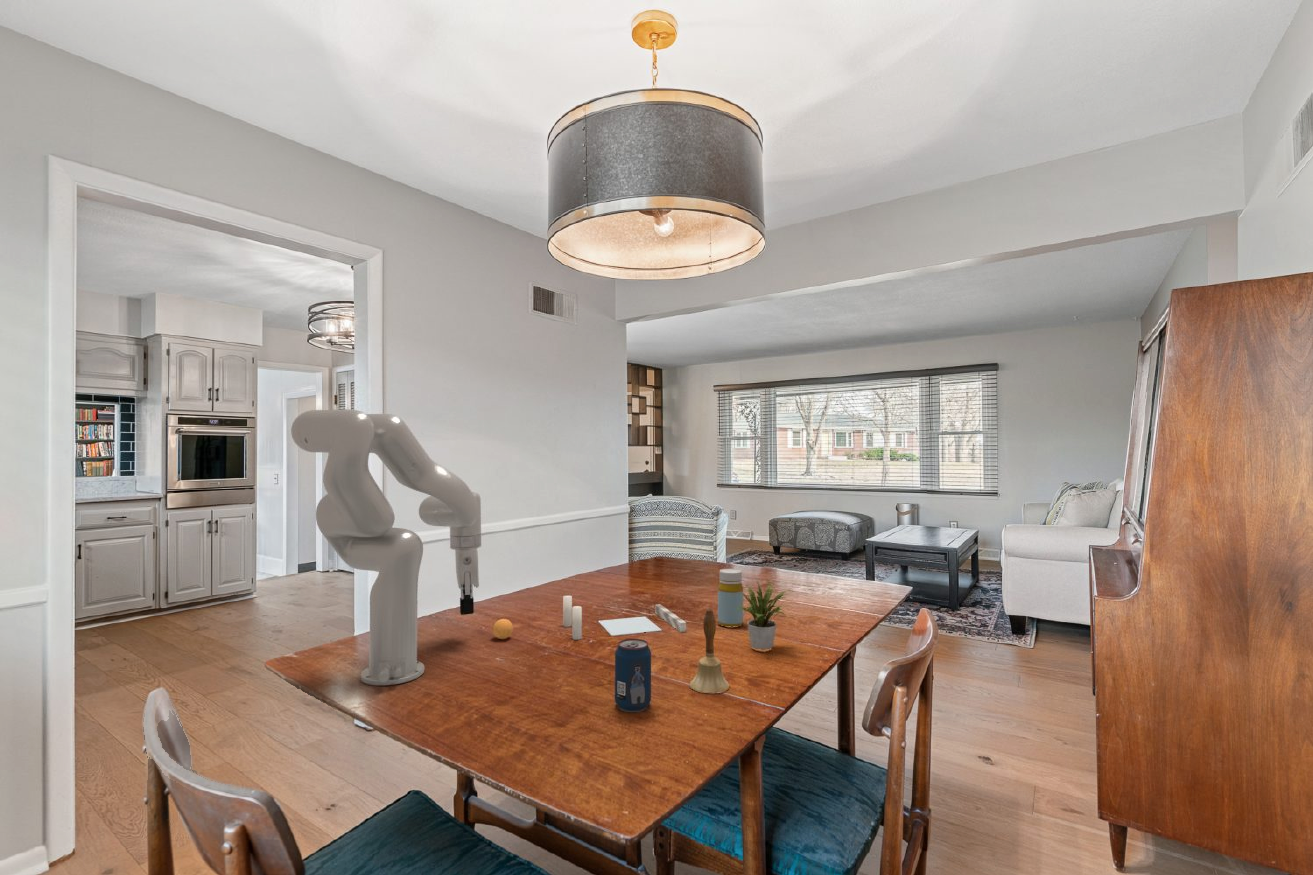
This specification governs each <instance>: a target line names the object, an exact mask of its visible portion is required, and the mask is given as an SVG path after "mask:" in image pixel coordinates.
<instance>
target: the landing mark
mask: <svg viewBox="0 0 1313 875" xmlns="http://www.w3.org/2000/svg"><path fill="white" fill-rule="evenodd" d="M597 622H598V623H599V625H601V627H603V629H604V630H605V631H606V632H607V633H608V634H609V635H610V636H611V637H615V636H625V635H634V634H635V635H636V634H644V632H646V633H654V632H656V633H657V632H662V631H663V630H662V629H661V628H660V627H659V626H658V625H657V624H655V623H654V622H653V621H651V620H650V619H649V618H648V617H647V616H635V617H627V618H626V617H625V618H614V619H603V620H598V621H597Z"/></svg>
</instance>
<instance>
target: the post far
mask: <svg viewBox="0 0 1313 875" xmlns="http://www.w3.org/2000/svg"><path fill="white" fill-rule="evenodd" d="M572 607H573V595H563V596H562V626H563V627H564V628H569V627H572Z"/></svg>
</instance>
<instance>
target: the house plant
mask: <svg viewBox="0 0 1313 875" xmlns="http://www.w3.org/2000/svg"><path fill="white" fill-rule="evenodd" d="M756 582H757V587H758V590H755V592H756V594H757V595H756V594H755V592H754V590H753V589H752V588H751V587H750V586H749V585H747V584H745V586H746V589H747V591H748V593H749V596H748V595H746V593H744V592H743V593H742V592H741V591H740V592H741V593H742V594H743V598H745V599H746V600H747V601H748V604H749V605H750V606H746V607H745V606H743V607H738V608H737V609H743V611H746V612H748V613H750V614H751V615H752V617H753V619H751V620H748V621H747V629H748V637H749V642H750V647H751V646H752V647H753V648H755V649H761V650H765V649H770V648H772V647H774V641H775V638H776V637H775V636H776V630H777V623H776V622H775V621H773V620H771V619H774V618H775V617H776V616H777V615H778V614H781V615H784V616H786V614H785V612H784V611H782V610H783V609H781V607H782V606H784V604H780V605H777V606H776V603H777V602H779V601H780V600H781V599H785V598H786V595H789V594H787V592H788V593H789V592H791V591H792V589H791V590H790V589H788V590H786V591H785V590H784V591H782V592H781V593H779V594H777V595H776V596H775V597H774V598H773V599H771V597H772V595H773V589H774V585H771V582H769V584H768V586H767V588H766V590H765V592H764V595H763V591H762V588H761V585H760V583H759V582H758V581H756ZM780 602H781V601H780ZM787 605H788V604H785V606H787ZM775 613H776V614H775ZM774 614H775V615H774ZM773 615H774V616H773ZM772 616H773V617H772ZM771 617H772V618H771Z"/></svg>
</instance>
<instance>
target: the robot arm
mask: <svg viewBox="0 0 1313 875" xmlns="http://www.w3.org/2000/svg"><path fill="white" fill-rule="evenodd" d="M290 433H291V438H292V440H293V441H294V443H295V445H297V447H298V448H300V449H302V450H303V451H306V452H309V453H328V456H327V460H326V463H325V466H324V470H323V473H322V474H323V476H322V484H323V487H324V489H325V492H326V494H325V495H323V497H322V498H321V499H320V500H319V501H318V503H317V505H316V510H315V521H316V524H317V527H318V529H319V531H320V533H321V534H322V536H323V537H324V538H325V540H326V541H327V542H328V543H329V545H330V546H331V547H332V548H333V550H334V551H335V552H336V554H337V555H338V556H339V558H340V559H341V560H342V561H343V562H344V564H346V565H347V566H349V567H351V568H353V569H355V570H360V571H361V570H362V571H370V572H371V571H372V572H378V575H377V577H376V579H375V580H374V583H373V585H372V587H371V588H370V589H371V590H370V593H369V635H368V636H369V637H368V638H369V642H368V643H369V649H368V656H369V657H368V660H369V661H368V667H366V668H365V669H363V670H362V671H361V674H360V680H361V682H362V683H364V684H366V685H371V686H392V685H393V686H394V685H399V684H404V683H407V682H410V681H414V680H415V679H418V678H420V677H421V676H422V675H423V674H424V673H425V665H424V663H423V662H421V661H418V593H419V592H418V590H419V588H418V587H419V586H418V585H419V576H420V575H419V574H420V569H421V564H422V559H423V553H424V545H423V542H422V539H421V537H420V536H419V535H418V534H417V533H416V532H414V531H412V530H411V529H407V528H402V527H393V526H394V523H395V513H394V509H393V507H392V506H391V504H390V502H389V501H388V499H387V498H386V496H385V495H384V492H383V491H382V490H381V488H380V486H379V485H378V484H377V481H376V480H375V479H374V477H373V476H372V473H371V471H370V469H369V456H370V454H375V455H376V456H377V457H378V458H379V459H380V461H381V462H382V463H383V464H384V466H385V467H386V468H387V470H389V472H390V473H391V474H392V476H393V477H394V478H395V480H396V481H397V482H398V483H399V484H401V485H402V486H405V487H407V488H408V489H411V490H413V491H416V492H419V493H422V494H426V495H429V496H428V497H426V498H424V499H423V500H422V501H421V503H420V505H419V507H418V515H419V518H420V519H421V521H422V522H423V523H425V524H427V525H429V526H434V527H448V528H449V540H450V541H449V545H450V546H449V548H450V549H451V550H454V551H455V554H454V556H455V571H456V572H455V574H456V581H457V585H458V589H459V590H460V598H459V612H460V613H459V614H460V615H462V616H463V615H473V614H474V612H475V611H474V610H475V608H474V606H475V605H474V603H475V601H474V593H473V590H474V587H475V588H476V589H477V588H479V587H480V581H479V580H480V578H479V554H478V549H479V548H481V547H482V512H481V511H482V510H481V508H482V506H481V504H482V503H481V500H482V499H481V496H480V494H479V493H478V492H474V491H472V489H470V487H469V486H468V484H466V482H465V481H464V480H463V479H462V478H460V477H459V476H458V475H456V474H455V473H453V472H452V471H451V470H449V469H447V468H446V467H444V466H442V465H441V464H439V463H438V462H436V461H434V460H433V459H432V458H430V456H429V454H428V453H427V452H426V450H425V449H424V448H423V446H422V445H421V443H420V442H419V441H418V439H417V437H416V436H415V435H414V433H413V432H412V431H411V428H409V426H408V424H407V423H406V422H405V421H404V420H403V419H402V418H401V417H400V416H397V415H395V414H392V413H391V414H390V413H369V414H368V413H365V412H364V411H360V410H357V409H356V410H355V409H345V408H343V409H314V410H313V409H311V410H307V411H304V412H302V413H300V414H299V415H297V417H296V418H295V419H294V420H293V422H292V425H291V428H290Z"/></svg>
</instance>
